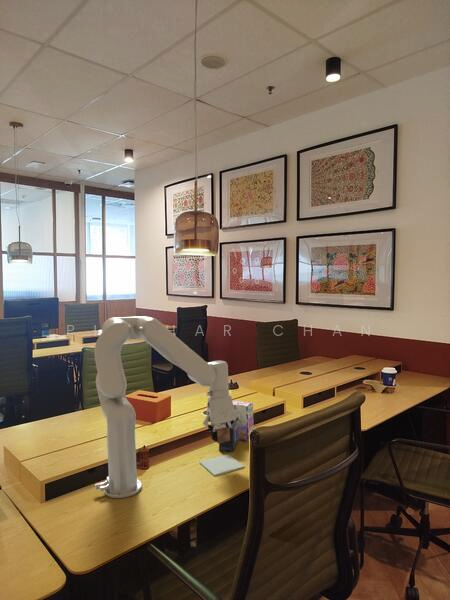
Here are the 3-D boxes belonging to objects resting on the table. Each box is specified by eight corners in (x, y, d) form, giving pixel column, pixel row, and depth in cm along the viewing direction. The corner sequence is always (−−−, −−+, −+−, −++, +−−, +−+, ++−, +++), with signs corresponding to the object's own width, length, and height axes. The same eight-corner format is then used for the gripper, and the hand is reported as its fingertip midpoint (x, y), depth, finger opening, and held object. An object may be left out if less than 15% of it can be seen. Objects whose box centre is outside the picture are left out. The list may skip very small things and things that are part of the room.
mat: (214, 476, 150) (214, 474, 150) (199, 463, 162) (199, 461, 162) (244, 467, 157) (244, 466, 156) (227, 455, 168) (227, 454, 168)
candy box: (254, 438, 186) (253, 402, 185) (248, 442, 181) (247, 406, 180) (228, 432, 193) (227, 398, 193) (222, 437, 188) (221, 402, 188)
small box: (233, 452, 171) (233, 428, 170) (218, 451, 172) (217, 427, 172) (238, 442, 181) (237, 419, 181) (223, 442, 182) (223, 419, 182)
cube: (218, 443, 155) (218, 430, 155) (212, 439, 160) (212, 426, 160) (230, 440, 158) (229, 428, 158) (223, 436, 162) (223, 424, 162)
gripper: (203, 399, 151) (205, 447, 151) (243, 391, 159) (244, 437, 160) (195, 394, 157) (197, 440, 158) (233, 387, 165) (235, 431, 166)
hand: (221, 438), depth 159 cm, fingers closed on cube, 5 cm apart
